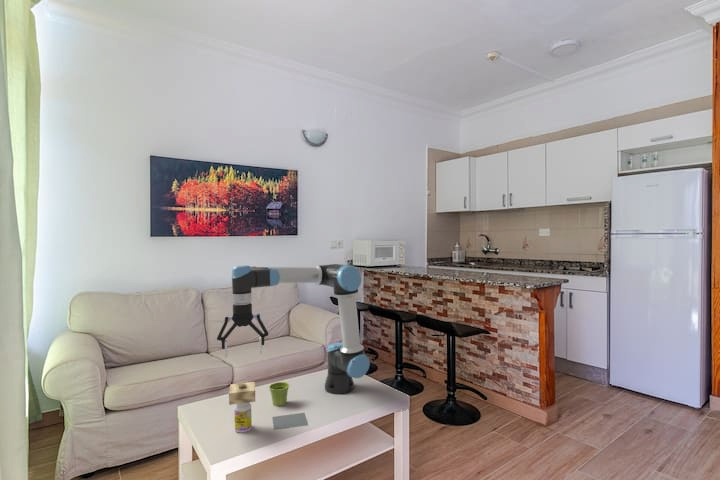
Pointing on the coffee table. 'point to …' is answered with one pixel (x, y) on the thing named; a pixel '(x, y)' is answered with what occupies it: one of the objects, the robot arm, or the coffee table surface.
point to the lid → (242, 393)
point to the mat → (289, 421)
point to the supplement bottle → (243, 417)
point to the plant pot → (279, 393)
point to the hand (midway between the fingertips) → (243, 354)
